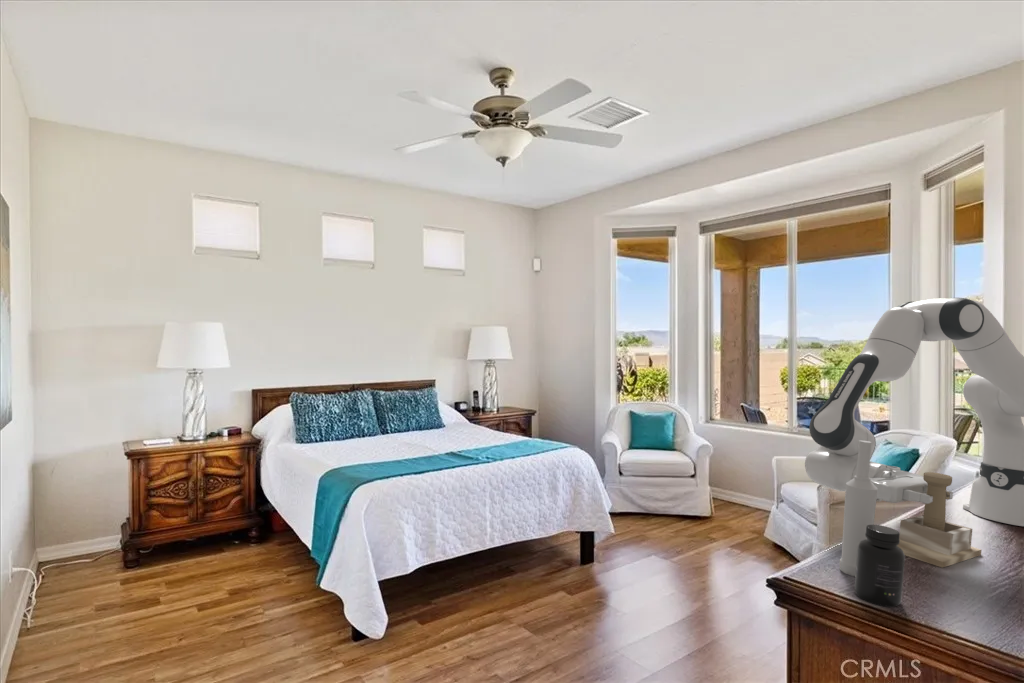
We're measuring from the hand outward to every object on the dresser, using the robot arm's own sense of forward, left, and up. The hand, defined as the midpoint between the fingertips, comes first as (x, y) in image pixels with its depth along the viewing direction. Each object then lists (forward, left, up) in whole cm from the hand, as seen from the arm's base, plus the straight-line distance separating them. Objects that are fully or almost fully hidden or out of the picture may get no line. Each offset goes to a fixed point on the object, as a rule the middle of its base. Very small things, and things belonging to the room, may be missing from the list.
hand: (941, 497), depth 125 cm
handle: (0, -1, -10) cm, 11 cm away
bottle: (+32, -1, -12) cm, 34 cm away
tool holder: (+2, -1, -11) cm, 12 cm away
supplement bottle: (+40, +7, -12) cm, 42 cm away
